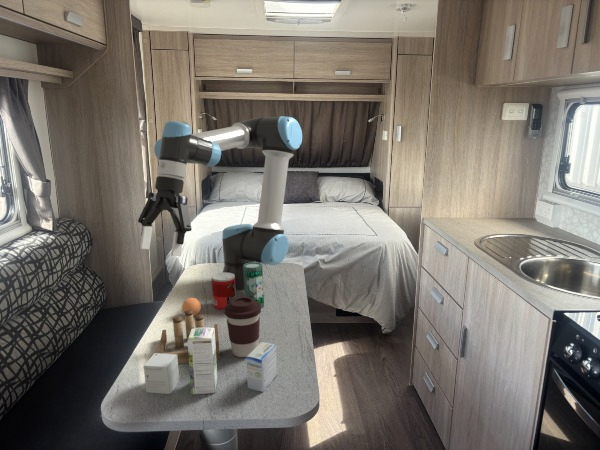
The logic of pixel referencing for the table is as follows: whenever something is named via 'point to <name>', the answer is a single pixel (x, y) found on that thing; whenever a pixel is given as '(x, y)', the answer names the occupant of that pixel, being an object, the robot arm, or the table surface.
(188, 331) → the front pin
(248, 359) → the medicine box
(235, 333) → the coffee cup
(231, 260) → the robot arm
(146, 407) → the table surface
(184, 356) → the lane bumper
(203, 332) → the syrup box
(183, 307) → the ball
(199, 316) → the rear pin
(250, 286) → the can
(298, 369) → the table surface
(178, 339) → the rear pin
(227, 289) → the canned food
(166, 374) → the product box
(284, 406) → the table surface
